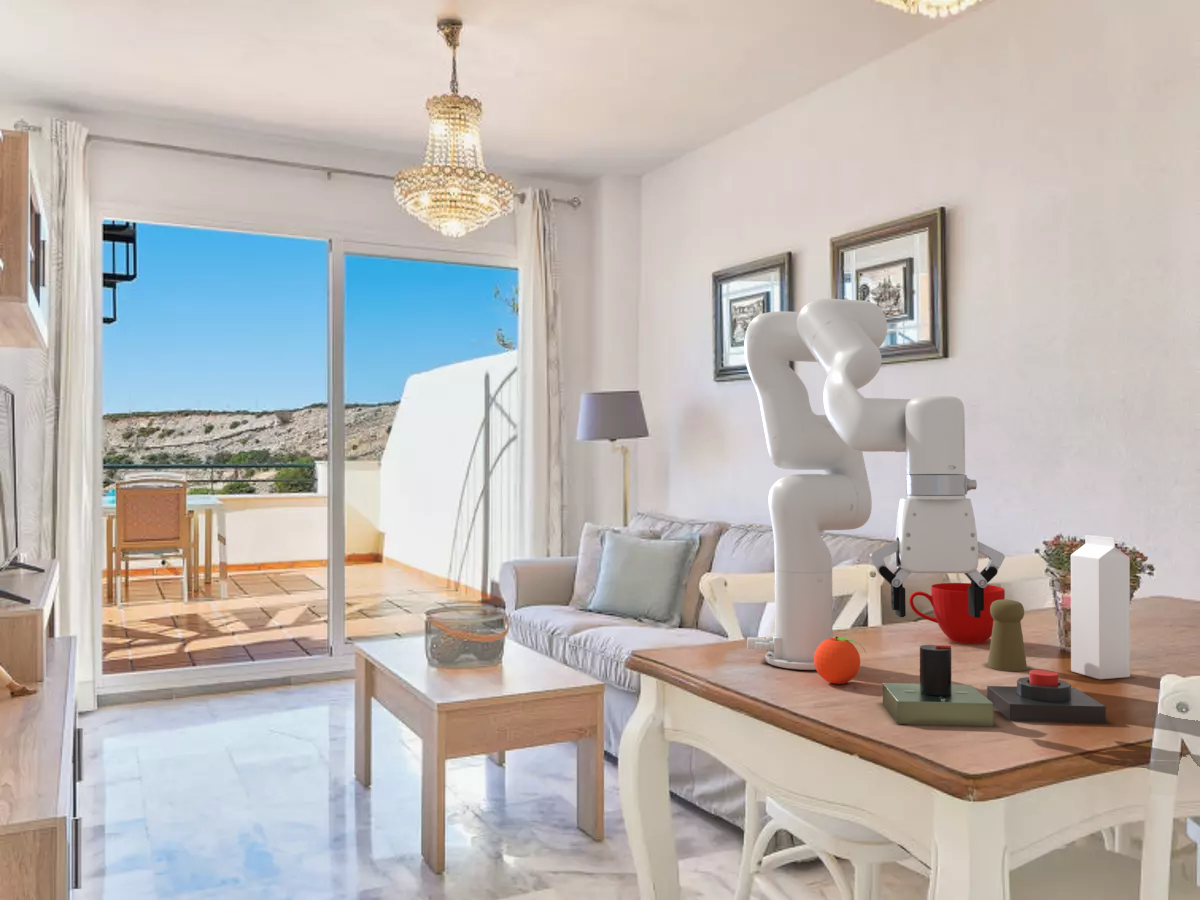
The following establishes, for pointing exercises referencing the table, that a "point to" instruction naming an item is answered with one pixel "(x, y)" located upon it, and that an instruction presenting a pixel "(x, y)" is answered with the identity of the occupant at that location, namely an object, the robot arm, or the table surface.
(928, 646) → the cylinder
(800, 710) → the table surface
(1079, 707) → the switch block
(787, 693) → the table surface
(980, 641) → the ceramic cup
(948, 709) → the dial panel
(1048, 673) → the button
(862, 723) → the table surface
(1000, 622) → the cork
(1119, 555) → the milk
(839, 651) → the clementine
